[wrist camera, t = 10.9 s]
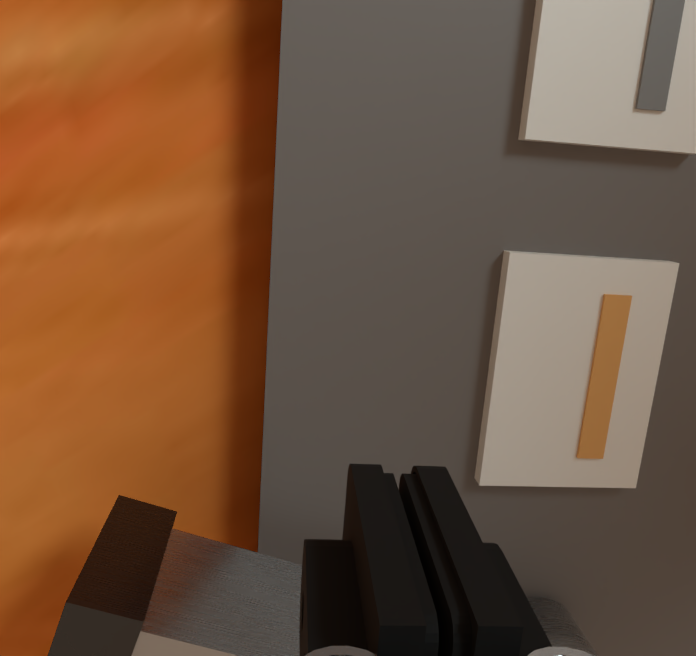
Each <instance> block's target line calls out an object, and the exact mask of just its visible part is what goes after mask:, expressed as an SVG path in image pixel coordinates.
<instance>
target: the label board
mask: <svg viewBox="0 0 696 656" xmlns="http://www.w3.org/2000/svg"><path fill="white" fill-rule="evenodd" d="M349 464H380V465H381V466H382V468H383V472H384V473H393V474H394V477H395V480H396V483H397V487H398V490H399V482H400V477H401V474H402V473H403V474H411V470H412V467H413V466H443V467H446V468H447V470H448V472H449V474H450V476H451V478H452V480H453V482H454V484H455V486H456V488H457V491H458V493H459V495H460V497H461V499H462V501H463V503H464V505H465V507H466V509H467V511H468V513H469V515H470V517H471V519H472V521H473V523H474V525H475V527H476V530H477V532H478V534H479V536H480V538H481V540H482V542H483V543H496V544H498V546H499V547H500V548H501V550H502V552H503V553H504V555H505V557H506V559H507V561H508V563H509V565H510V567H511V569H512V571H513V572H514V574H515V576H516V578H517V580H518V582H519V584H520V586H521V588H522V590H523V591H524V593H525V595H526V597H527V598H534V597H541V598H548V599H552V600H554V601H557V602H558V603H560V604H562V605H563V606H564V607H565V608H566V609H567V610H568V611H569V612H570V614H571V615H572V617H573V618H574V620H575V621H576V623H577V624H578V626H579V627H580V629H581V630H582V632H583V633H584V635H585V636H586V638H587V639H588V641H589V642H590V644H591V646H592V647H593V649H594V650H595V652H596V653H597V655H598V656H696V0H282V23H281V45H280V67H279V90H278V112H277V134H276V156H275V179H274V201H273V223H272V246H271V268H270V290H269V313H268V335H267V357H266V380H265V402H264V424H263V447H262V469H261V491H260V513H259V536H258V553H261V554H264V555H268V556H271V557H275V558H278V559H282V560H285V561H289V562H292V563H296V564H299V565H302V560H303V547H304V540H305V539H332V540H342V536H343V524H344V512H345V500H346V488H347V476H348V468H349Z"/></svg>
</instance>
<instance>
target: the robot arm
mask: <svg viewBox="0 0 696 656" xmlns="http://www.w3.org/2000/svg"><path fill="white" fill-rule="evenodd" d="M299 649H300V656H593V655H591V654H589V653H587V652H584V651H581V650H577V649H572V648H568V647H552V645H551V643H550V641H549V639H548V637H547V635H546V633H545V631H544V630H543V628H542V626H541V624H540V622H539V620H538V618H537V616H536V614H535V612H534V611H533V609H532V607H531V605H530V603H529V601H528V599H527V597H526V595H525V593H524V591H523V590H522V588H521V586H520V584H519V582H518V580H517V578H516V576H515V574H514V572H513V571H512V569H511V567H510V565H509V563H508V561H507V559H506V557H505V555H504V553H503V552H502V550H501V548H500V547H499V546H498V544H496V543H483V542H482V540H481V538H480V536H479V534H478V532H477V530H476V527H475V525H474V523H473V521H472V519H471V517H470V515H469V513H468V511H467V509H466V507H465V505H464V503H463V501H462V499H461V497H460V495H459V493H458V491H457V488H456V486H455V484H454V482H453V480H452V478H451V476H450V474H449V472H448V470H447V468H446V467H443V466H413V467H412V470H411V474H403V473H402V474H401V477H400V482H399V490H398V487H397V483H396V480H395V477H394V474H393V473H384V472H383V468H382V466H381V465H380V464H349V468H348V476H347V488H346V500H345V512H344V524H343V536H342V540H332V539H305V540H304V547H303V560H302V575H301V593H300V625H299Z"/></svg>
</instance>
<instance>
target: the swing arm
mask: <svg viewBox="0 0 696 656" xmlns="http://www.w3.org/2000/svg"><path fill="white" fill-rule="evenodd" d="M176 514H177V512H176V511H173V510H169V509H166V508H162V507H159V506H155V505H152V504H148V503H145V502H141V501H138V500H135V499H131V498H128V497H124V496H121V495H119V496H118V498H117V500H116V502H115V504H114V506H113V508H112V510H111V512H110V514H109V516H108V518H107V520H106V522H105V524H104V526H103V528H102V530H101V532H100V534H99V536H98V538H97V540H96V542H95V545H94V547H93V549H92V551H91V553H90V555H89V557H88V559H87V561H86V563H85V565H84V567H83V569H82V571H81V573H80V575H79V577H78V579H77V581H76V583H75V585H74V587H73V589H72V591H71V593H70V595H69V597H68V599H67V601H66V603H65V606H64V609H63V612H62V615H61V618H60V621H59V624H58V627H57V630H56V633H55V636H54V639H53V642H52V645H51V648H50V650H49V653H48V656H300V649H299V625H300V593H301V575H302V565H299V564H296V563H292V562H289V561H285V560H282V559H278V558H275V557H271V556H268V555H264V554H261V553H257V552H254V551H250V550H246V549H243V548H239V547H236V546H232V545H229V544H225V543H222V542H218V541H215V540H211V539H208V538H204V537H200V536H197V535H193V534H190V533H186V532H183V531H179V530H176V529H172V527H173V524H174V520H175V517H176ZM527 599H528V601H529V603H530V605H531V607H532V609H533V611H534V612H535V614H536V616H537V618H538V620H539V622H540V624H541V626H542V628H543V630H544V631H545V633H546V635H547V637H548V639H549V641H550V643H551V645H552V647H568V648H572V649H577V650H581V651H584V652H587V653H589V654H591V655H593V656H598V655H597V653H596V652H595V650H594V649H593V647H592V646H591V644H590V642H589V641H588V639H587V638H586V636H585V635H584V633H583V632H582V630H581V629H580V627H579V626H578V624H577V623H576V621H575V620H574V618H573V617H572V615H571V614H570V612H569V611H568V610H567V609H566V608H565V607H564V606H563V605H562V604H560V603H558V602H557V601H554V600H552V599H548V598H541V597H534V598H527Z"/></svg>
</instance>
